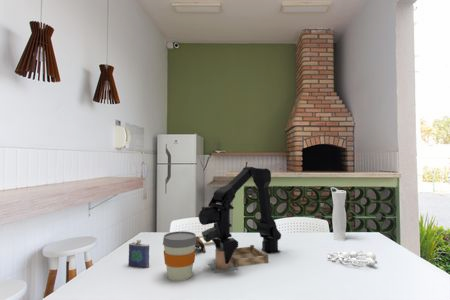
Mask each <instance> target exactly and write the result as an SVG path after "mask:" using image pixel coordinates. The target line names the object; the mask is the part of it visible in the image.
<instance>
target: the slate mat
mask: <svg viewBox="0 0 450 300" xmlns="http://www.w3.org/2000/svg"><path fill="white" fill-rule="evenodd" d="M207 265H208V266H209V268H210V269H211V271H212V272H213V273H214V274H218V273H225V272H226V273H227V272H233V271H239V270H240V269H239V267H235V266H234V264H232V263H231V262H230V268H229V269H225V270H221V269H217V268H216V267H215V262H213V263H207Z"/></svg>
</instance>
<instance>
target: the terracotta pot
mask: <svg viewBox="0 0 450 300" xmlns="http://www.w3.org/2000/svg"><path fill="white" fill-rule="evenodd" d="M214 252H215V255H214V256H215V258H214V259H215V260H214V261H215V262H214V263H215V267H216V268H217V269H221V270H225V269H229V268H230V261H229V263H228V264H226V263H225V258H224V251H223V250H222V249H221V248H220V247H218V248H216V247H215V251H214Z"/></svg>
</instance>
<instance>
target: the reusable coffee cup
mask: <svg viewBox="0 0 450 300" xmlns="http://www.w3.org/2000/svg"><path fill="white" fill-rule="evenodd" d="M196 236H197V235H196V233H195V232H190V231H184V230H183V231H172V232H168V233H166V234H164V235H163V241H162V246H163V249H164V250H163V258H164V264H165V266H166V273H167V274H166V275H167V278H168V279H170V280H171V281H178V282H180V281H185V280H188V279H190V278H191V277H192V274H193V266H194V263H195V260H196V251H197V250H196V249H197V248H195V244H196Z"/></svg>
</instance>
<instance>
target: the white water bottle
mask: <svg viewBox="0 0 450 300" xmlns="http://www.w3.org/2000/svg"><path fill="white" fill-rule="evenodd" d="M333 190H335V191H333ZM330 191H331V195H332V197H331V198H332V204H333V209H332V216H331V217H332V218H331V219H332V221H331V222H332V232H333V239H334V241H342V242H345V241H346V239H345V237H346V229H347V213H346V207H345V204H346V199H347V191H346V190H344V189H343V190H341V189H338V188H337V187H330Z"/></svg>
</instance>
